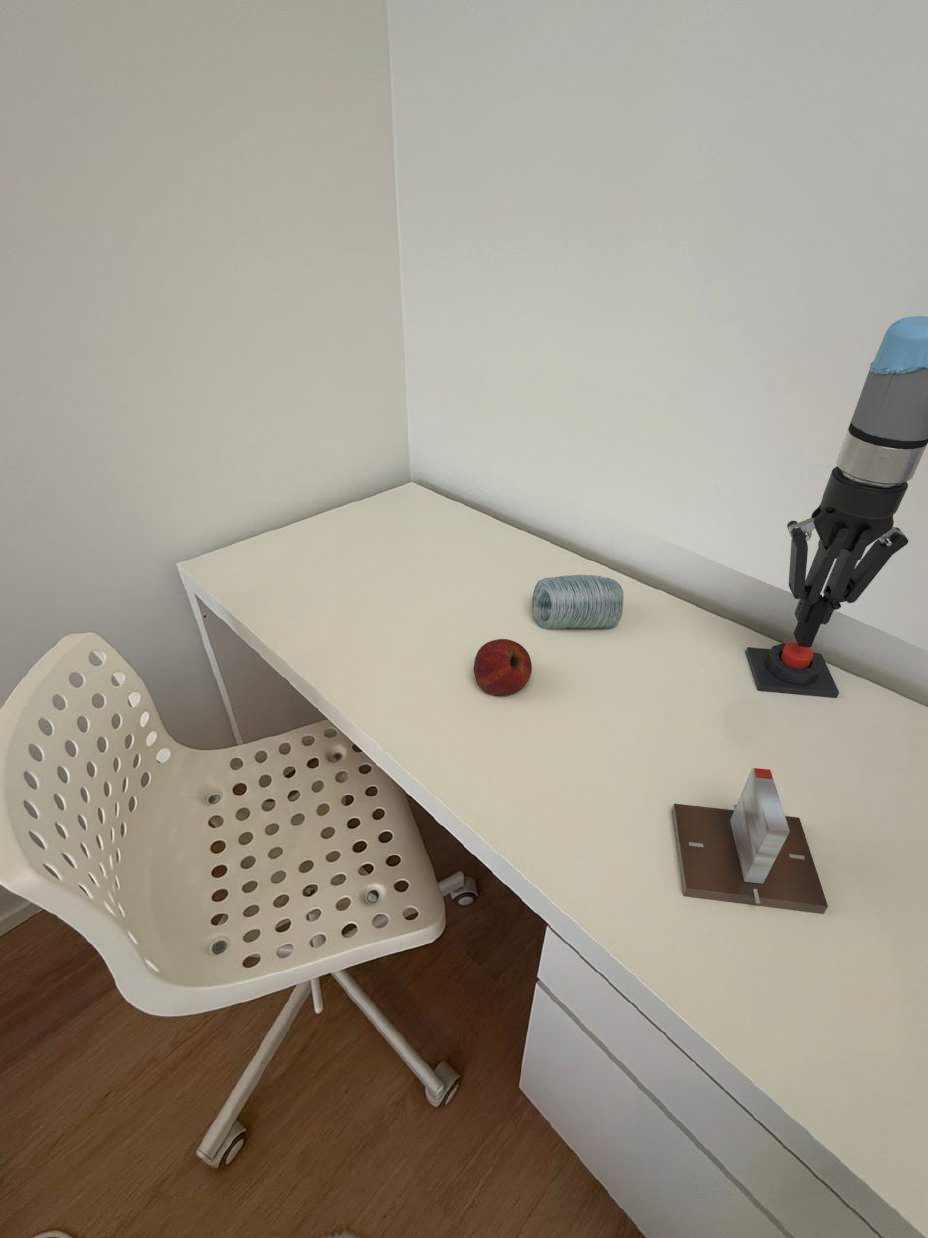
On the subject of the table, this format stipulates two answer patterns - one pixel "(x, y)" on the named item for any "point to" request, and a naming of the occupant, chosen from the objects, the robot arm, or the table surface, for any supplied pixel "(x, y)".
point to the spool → (577, 602)
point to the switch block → (790, 674)
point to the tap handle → (758, 825)
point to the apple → (502, 667)
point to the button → (796, 656)
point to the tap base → (718, 870)
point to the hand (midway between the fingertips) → (801, 640)
